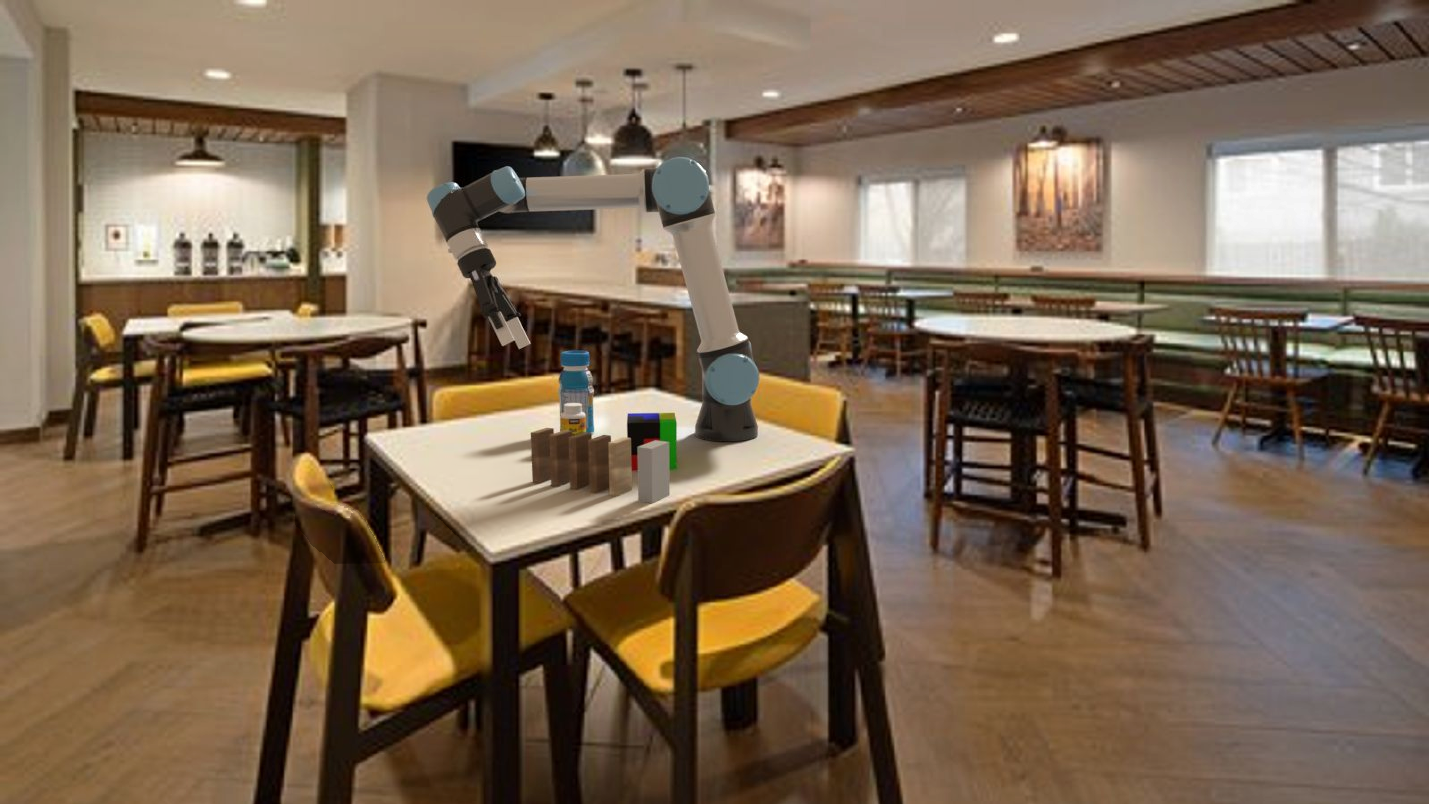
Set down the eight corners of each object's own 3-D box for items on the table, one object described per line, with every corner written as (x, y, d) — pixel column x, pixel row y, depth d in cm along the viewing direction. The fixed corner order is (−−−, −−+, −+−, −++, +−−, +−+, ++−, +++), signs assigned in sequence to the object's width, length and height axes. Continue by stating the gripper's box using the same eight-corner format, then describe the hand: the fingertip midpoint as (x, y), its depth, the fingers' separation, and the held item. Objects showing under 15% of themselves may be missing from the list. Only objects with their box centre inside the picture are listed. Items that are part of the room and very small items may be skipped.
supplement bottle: (567, 453, 194) (566, 407, 192) (557, 448, 198) (555, 403, 196) (590, 449, 197) (589, 404, 195) (580, 445, 201) (578, 401, 199)
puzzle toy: (628, 459, 189) (627, 413, 187) (674, 458, 190) (674, 412, 188) (627, 471, 179) (627, 423, 177) (676, 470, 180) (676, 422, 178)
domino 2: (551, 485, 168) (549, 434, 166) (567, 479, 172) (565, 429, 171) (557, 487, 167) (556, 435, 165) (573, 480, 172) (572, 430, 170)
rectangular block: (638, 501, 158) (637, 446, 156) (655, 492, 164) (655, 440, 162) (652, 503, 157) (651, 448, 155) (669, 494, 162) (669, 442, 160)
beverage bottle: (570, 439, 206) (568, 355, 203) (553, 433, 213) (550, 351, 209) (601, 434, 212) (599, 352, 208) (583, 429, 218) (581, 349, 214)
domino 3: (570, 489, 166) (568, 437, 164) (585, 482, 170) (584, 432, 168) (577, 490, 165) (575, 438, 163) (592, 483, 170) (591, 433, 168)
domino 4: (589, 492, 164) (588, 439, 162) (605, 485, 168) (603, 434, 166) (596, 493, 163) (595, 440, 161) (612, 486, 167) (610, 435, 166)
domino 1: (532, 482, 170) (530, 432, 168) (548, 476, 174) (547, 427, 173) (539, 484, 169) (537, 433, 167) (555, 477, 174) (553, 428, 172)
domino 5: (609, 495, 162) (608, 442, 160) (624, 488, 166) (623, 437, 164) (616, 496, 161) (615, 443, 159) (631, 489, 165) (630, 438, 164)
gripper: (474, 270, 198) (516, 354, 198) (436, 253, 173) (484, 350, 173) (504, 255, 198) (545, 340, 198) (470, 236, 173) (517, 333, 173)
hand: (517, 344), depth 186 cm, fingers open, 13 cm apart
